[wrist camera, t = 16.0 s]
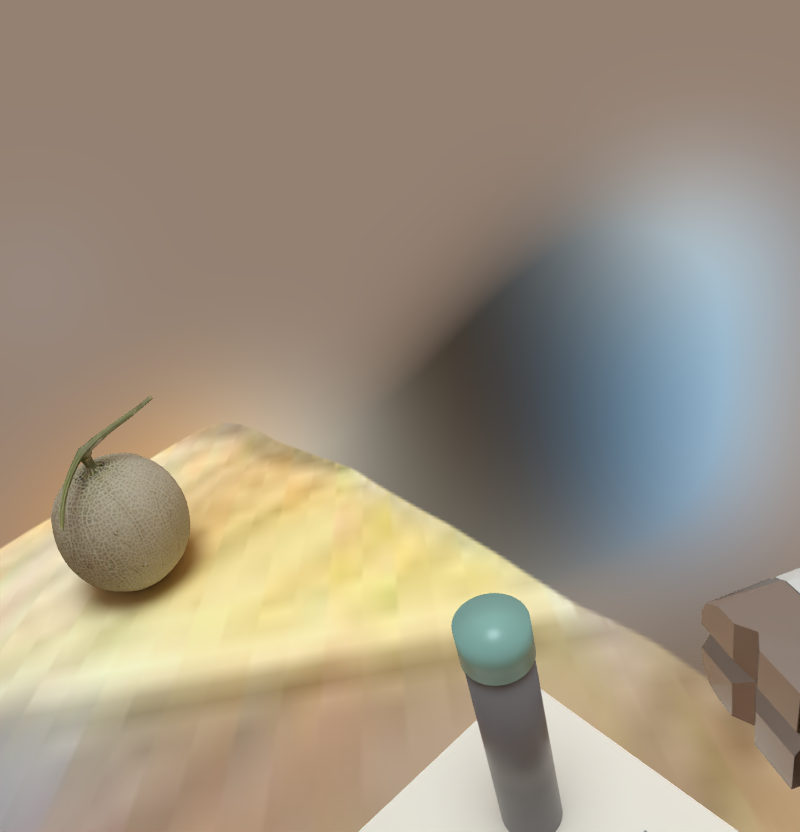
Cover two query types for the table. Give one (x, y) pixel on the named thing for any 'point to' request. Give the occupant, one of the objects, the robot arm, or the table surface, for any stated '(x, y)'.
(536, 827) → the marker
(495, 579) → the table surface
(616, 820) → the paper
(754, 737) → the robot arm
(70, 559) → the fruit
